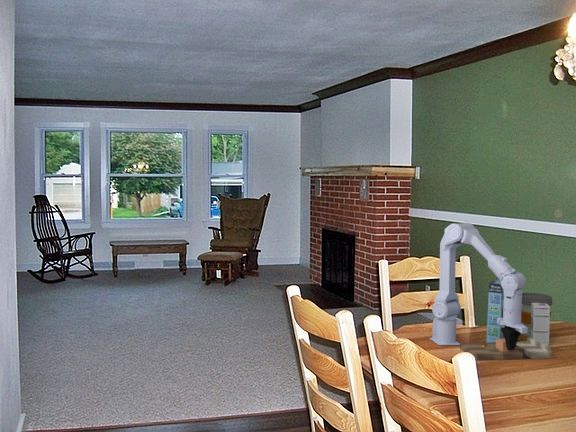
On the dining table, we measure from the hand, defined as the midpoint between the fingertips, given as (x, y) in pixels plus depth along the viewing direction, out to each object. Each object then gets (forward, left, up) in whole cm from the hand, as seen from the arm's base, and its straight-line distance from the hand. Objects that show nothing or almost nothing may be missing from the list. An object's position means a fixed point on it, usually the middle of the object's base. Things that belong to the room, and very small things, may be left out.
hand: (510, 349), depth 211 cm
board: (-5, 0, -3) cm, 6 cm away
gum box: (-21, +7, -3) cm, 22 cm away
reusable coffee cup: (-29, +25, -3) cm, 38 cm away
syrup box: (-16, +20, -3) cm, 26 cm away
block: (-3, 0, -1) cm, 4 cm away
